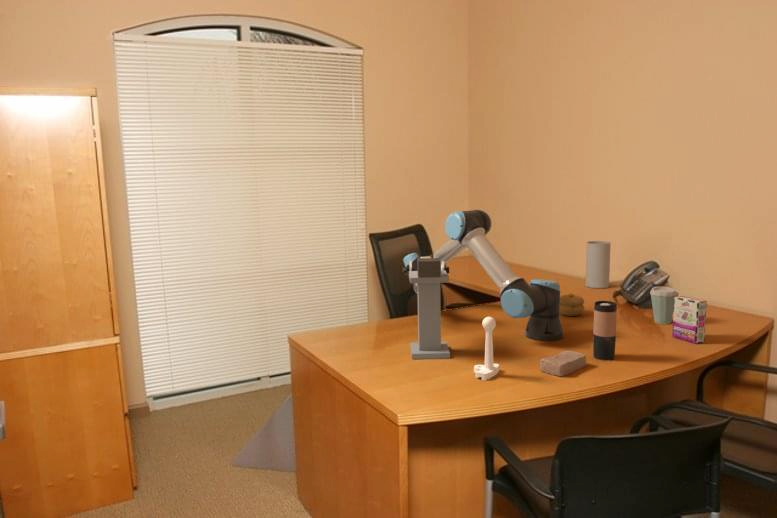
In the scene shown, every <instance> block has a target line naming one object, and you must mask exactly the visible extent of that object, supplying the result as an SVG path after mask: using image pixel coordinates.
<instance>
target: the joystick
mask: <svg viewBox="0 0 777 518" xmlns="http://www.w3.org/2000/svg"><path fill="white" fill-rule="evenodd" d="M481 325H482V327H483V329H484V331H485V345H484V364H476V365H473V373H475V378H477V379H479V378H481V380H482V381H488V380H490V378H491V377H493V376H494V377H496V376H497V375H498V374H499V372H500V364H499V363H494V344H493V340H494V339H493V330H494V329H495V328H496V326H497V323H496V319H495V318H494V317H492V316H487V317H485V318H484V319H483V320H482V323H481ZM497 373H498V374H497ZM496 374H497V375H496ZM495 375H496V376H495ZM494 377H493V378H494ZM487 379H488V380H487ZM491 379H492V378H491Z"/></svg>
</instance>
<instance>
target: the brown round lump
mask: <svg viewBox="0 0 777 518" xmlns="http://www.w3.org/2000/svg"><path fill="white" fill-rule="evenodd" d="M584 304H585V300H584V299H583V297H581V296H580V295H576V294H573V293H569V294H564V295H560V312H559V314H562V315H564V316H567V317H576V316H577V317H578V316H579V315H581V314H582V313H583V312H584V310H585V306H584Z"/></svg>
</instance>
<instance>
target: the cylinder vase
mask: <svg viewBox="0 0 777 518" xmlns="http://www.w3.org/2000/svg"><path fill="white" fill-rule="evenodd" d="M611 244H612V243H611V242H610V241H604V240H603V241H602V240H592V241H590V240H589V241H586V254H585V286H586V287H587V288H588V289H589V288H590V289H597V290H598V289H607V288H609V287H610V274H611V273H610V271H611V269H610V268H611Z"/></svg>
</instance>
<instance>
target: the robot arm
mask: <svg viewBox="0 0 777 518" xmlns="http://www.w3.org/2000/svg"><path fill="white" fill-rule="evenodd" d="M491 229H492V219H491V217H490V215H489V214H488V213H487V212H486V211H484V210H482V209H472V210H463V211H461V210H458V211H455V212H452V213H451V214H449V215H448V216H447V218H446V221H445V233H446V235H447V237H448V239H449V240H448V241H446V242H445V243H444V244H443V245H441V246H440V247H439V248H438V249H437V250H435V251H434V252H433V253H431V254H430V255H426V256H424V257H431V258H439V259H440V267H441V270H445V271H446V273H447V274H450V267H449V266H447V263H448V262H449V261H451V260H452V259H454V257H455V256H457V255H459V254H460V253H461V252H462V251H463V250H465V249H467V248H468V249H469V251H470V252H471V254H472V255H473V257H474V258H475V259H476V260H477V261H478V263H479V264H480V265H481V267H482V268H483V269H484V271H485V272H486V273H487V275H488V276H489V277H490V279H491V280H492V281H493V282H494V284H495V285H496V287H497V288H498V289H499V290H500V292H499V297H500V303H501V307H502V308H501V309H502V310H503V312H504V313H505V314H506V315H507V316H509V317H510V318H513V319H525V318H528V317H529V318H528V321H527V324H526V326H525V329H524V330H525V331H524V332H525V333H524V336H526V337H527V338H529V339H532V340H534V341H535V340H536V341H543V342H544V341H545V342H546V341H547V342H549V341H557V340H561V339H563V338H564V333H565V332H564V329H563V325H562V322H561V319H560V297H561V287H560V285H561V284H560V283H559V282H558V281H555V280H549V279H542V278H541V279H540V278H538V279H537V278H533V279H530V283H528V282H527V280H526V279H525V278H524V277H519V276H518V275H517V274H516V273H515V271H514V270H513V269H512V267H511V266H510V265H509V264H508V263H507V262H506V261H505V259H504V257H502V256H501V254H500V253H499V251H498V250H497V249H496V247H495V246H493V244H492V243H491V241H490V240H489V239H488V238H487V234H489V232H490V230H491ZM420 257H421V256H419V255H418V253H417V252H412V253H409V254H407V255H406V256H404V258H403V259H402V261H403V263H404V266H402V267H401V269H402V270H401V271H402V272H401V273H402V274H404V275H405V276H407V277H408V278H409V271H417V258H420ZM412 286H413V290H414V292H415V293H416V294H417V295H418V293H417V283H412Z"/></svg>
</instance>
